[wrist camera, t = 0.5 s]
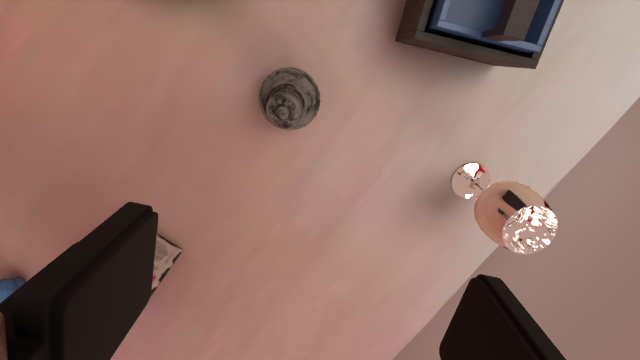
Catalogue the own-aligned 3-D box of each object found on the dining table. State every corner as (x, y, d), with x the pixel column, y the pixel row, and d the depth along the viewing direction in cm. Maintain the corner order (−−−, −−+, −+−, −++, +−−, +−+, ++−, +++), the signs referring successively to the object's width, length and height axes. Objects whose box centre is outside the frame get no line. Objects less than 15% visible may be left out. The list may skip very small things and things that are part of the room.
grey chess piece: (321, 67, 36) (323, 74, 25) (318, 124, 38) (319, 154, 27) (263, 64, 36) (240, 70, 25) (264, 121, 38) (242, 151, 27)
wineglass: (440, 166, 40) (489, 210, 29) (491, 150, 39) (561, 189, 28) (451, 209, 42) (500, 268, 31) (499, 195, 41) (568, 249, 30)
